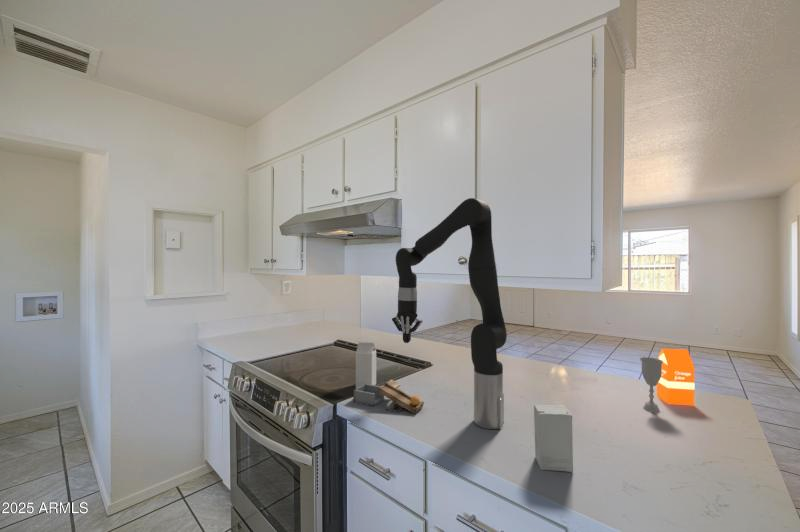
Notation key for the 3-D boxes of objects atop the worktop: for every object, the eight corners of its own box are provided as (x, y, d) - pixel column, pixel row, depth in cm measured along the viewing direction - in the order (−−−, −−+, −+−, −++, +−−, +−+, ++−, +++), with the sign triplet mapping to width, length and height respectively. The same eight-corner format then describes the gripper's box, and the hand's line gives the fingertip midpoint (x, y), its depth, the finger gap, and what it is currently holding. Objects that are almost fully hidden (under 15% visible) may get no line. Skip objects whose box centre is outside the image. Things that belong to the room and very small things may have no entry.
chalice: (642, 403, 125) (642, 356, 125) (664, 409, 121) (665, 359, 121) (637, 409, 120) (638, 360, 120) (661, 415, 116) (661, 364, 115)
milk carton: (371, 390, 139) (371, 344, 139) (355, 388, 140) (355, 343, 140) (376, 384, 146) (376, 341, 146) (360, 382, 147) (360, 340, 147)
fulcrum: (408, 402, 126) (408, 395, 126) (397, 412, 118) (397, 404, 118) (396, 400, 128) (396, 393, 128) (385, 409, 120) (385, 401, 120)
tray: (384, 398, 130) (384, 387, 130) (373, 406, 123) (373, 394, 123) (364, 394, 134) (364, 383, 134) (353, 401, 127) (353, 390, 127)
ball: (421, 405, 121) (421, 395, 120) (417, 408, 117) (418, 399, 117) (412, 402, 122) (413, 393, 122) (408, 406, 119) (409, 396, 119)
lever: (427, 402, 127) (429, 396, 126) (415, 414, 116) (417, 408, 116) (391, 381, 134) (392, 376, 133) (376, 391, 123) (378, 385, 123)
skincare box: (566, 460, 89) (566, 404, 89) (574, 474, 83) (574, 414, 83) (533, 457, 91) (533, 402, 90) (538, 470, 85) (538, 412, 85)
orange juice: (694, 405, 124) (694, 352, 124) (667, 403, 126) (667, 351, 126) (681, 397, 132) (681, 347, 131) (656, 395, 133) (656, 346, 133)
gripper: (426, 299, 131) (425, 342, 131) (397, 296, 137) (396, 338, 138) (418, 300, 124) (418, 346, 125) (388, 298, 130) (387, 342, 131)
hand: (406, 342), depth 131 cm, fingers closed
